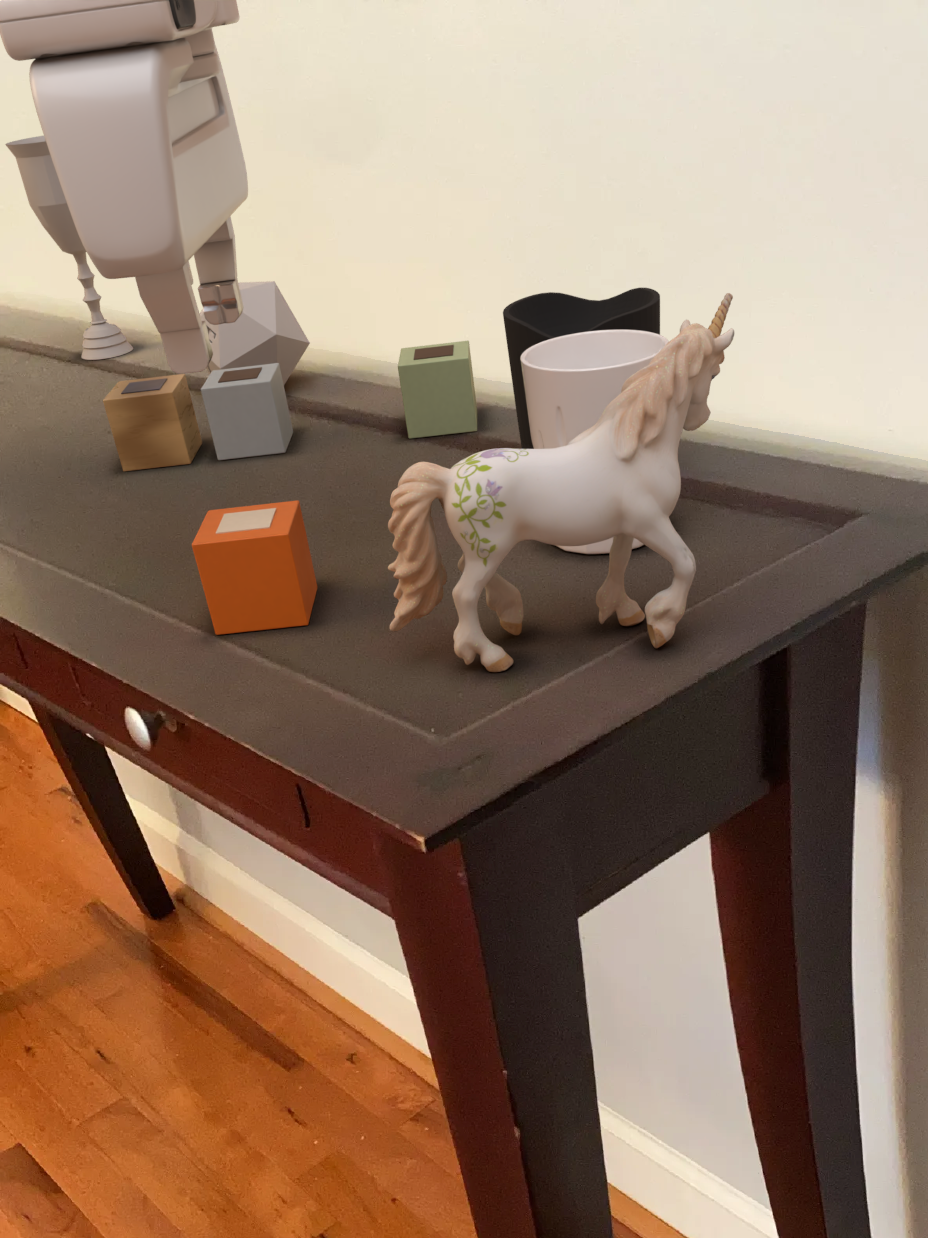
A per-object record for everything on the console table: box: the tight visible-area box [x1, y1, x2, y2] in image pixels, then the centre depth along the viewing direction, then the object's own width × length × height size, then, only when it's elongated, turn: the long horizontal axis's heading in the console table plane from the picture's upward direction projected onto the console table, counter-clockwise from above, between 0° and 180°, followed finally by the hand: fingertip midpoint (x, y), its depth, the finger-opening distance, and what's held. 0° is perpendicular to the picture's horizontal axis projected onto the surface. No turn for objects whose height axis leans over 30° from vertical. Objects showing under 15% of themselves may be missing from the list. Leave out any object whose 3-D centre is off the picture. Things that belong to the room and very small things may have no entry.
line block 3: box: [397, 340, 478, 440], centre depth 92 cm, size 5×5×5 cm
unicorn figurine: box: [387, 292, 735, 673], centre depth 59 cm, size 7×20×13 cm, turn 114°
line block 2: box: [200, 363, 294, 461], centre depth 92 cm, size 5×5×5 cm
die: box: [199, 280, 311, 386], centre depth 104 cm, size 8×9×10 cm
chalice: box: [4, 135, 134, 361], centre depth 119 cm, size 7×7×18 cm
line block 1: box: [102, 373, 203, 472], centre depth 93 cm, size 5×5×5 cm
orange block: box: [191, 500, 318, 636], centre depth 68 cm, size 5×5×5 cm
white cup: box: [520, 330, 670, 555], centre depth 70 cm, size 8×8×10 cm
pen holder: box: [502, 287, 661, 449], centre depth 79 cm, size 9×9×10 cm
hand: (210, 343), depth 61 cm, fingers open, 8 cm apart
